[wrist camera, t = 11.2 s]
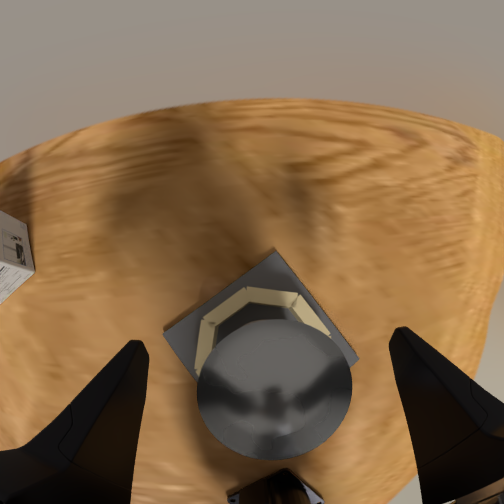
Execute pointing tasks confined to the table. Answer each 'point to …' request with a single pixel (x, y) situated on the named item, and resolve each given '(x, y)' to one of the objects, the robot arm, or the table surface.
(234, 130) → the table surface
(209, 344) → the ring collar
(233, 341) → the piston
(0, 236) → the light bulb box
